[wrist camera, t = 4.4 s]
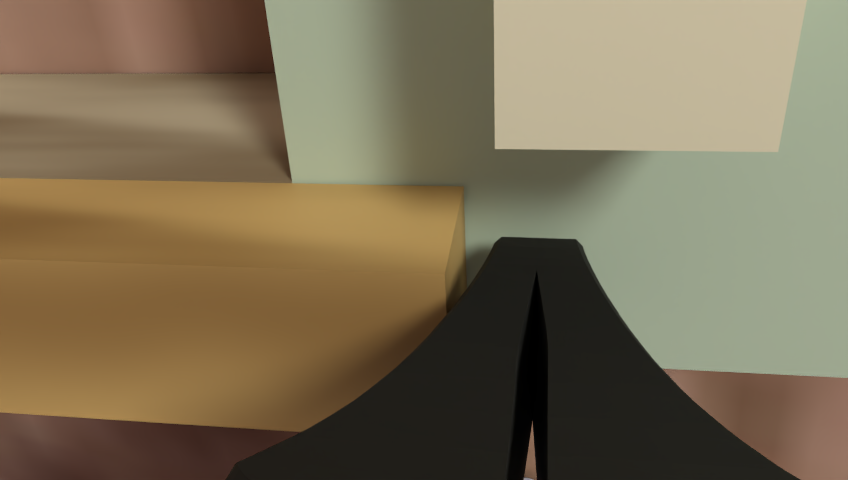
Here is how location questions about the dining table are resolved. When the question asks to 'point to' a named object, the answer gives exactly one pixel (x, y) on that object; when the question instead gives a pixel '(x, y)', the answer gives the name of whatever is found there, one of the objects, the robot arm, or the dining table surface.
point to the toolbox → (143, 127)
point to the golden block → (217, 296)
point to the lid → (608, 149)
